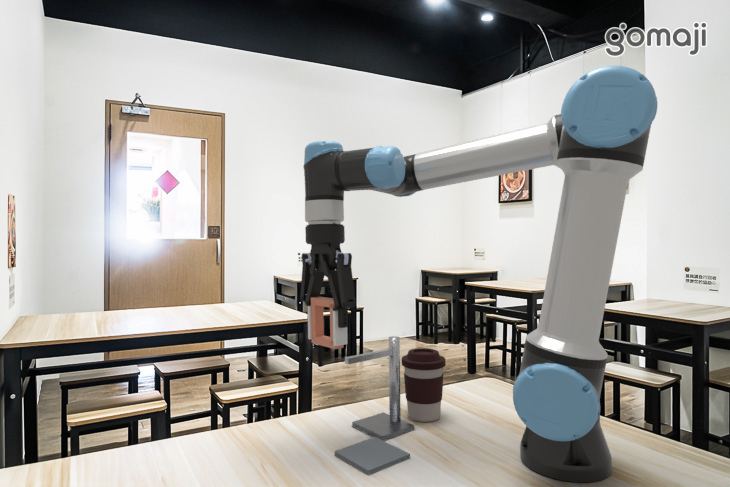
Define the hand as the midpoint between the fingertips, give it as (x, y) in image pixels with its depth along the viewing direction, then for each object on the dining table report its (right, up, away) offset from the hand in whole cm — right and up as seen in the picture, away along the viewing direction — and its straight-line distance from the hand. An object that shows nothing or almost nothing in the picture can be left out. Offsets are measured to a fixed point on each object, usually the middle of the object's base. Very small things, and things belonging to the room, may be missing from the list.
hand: (327, 341), depth 92 cm
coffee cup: (+21, -21, +17) cm, 34 cm away
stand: (+9, -21, +9) cm, 24 cm away
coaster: (+9, -21, -3) cm, 23 cm away
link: (0, -1, 0) cm, 1 cm away
